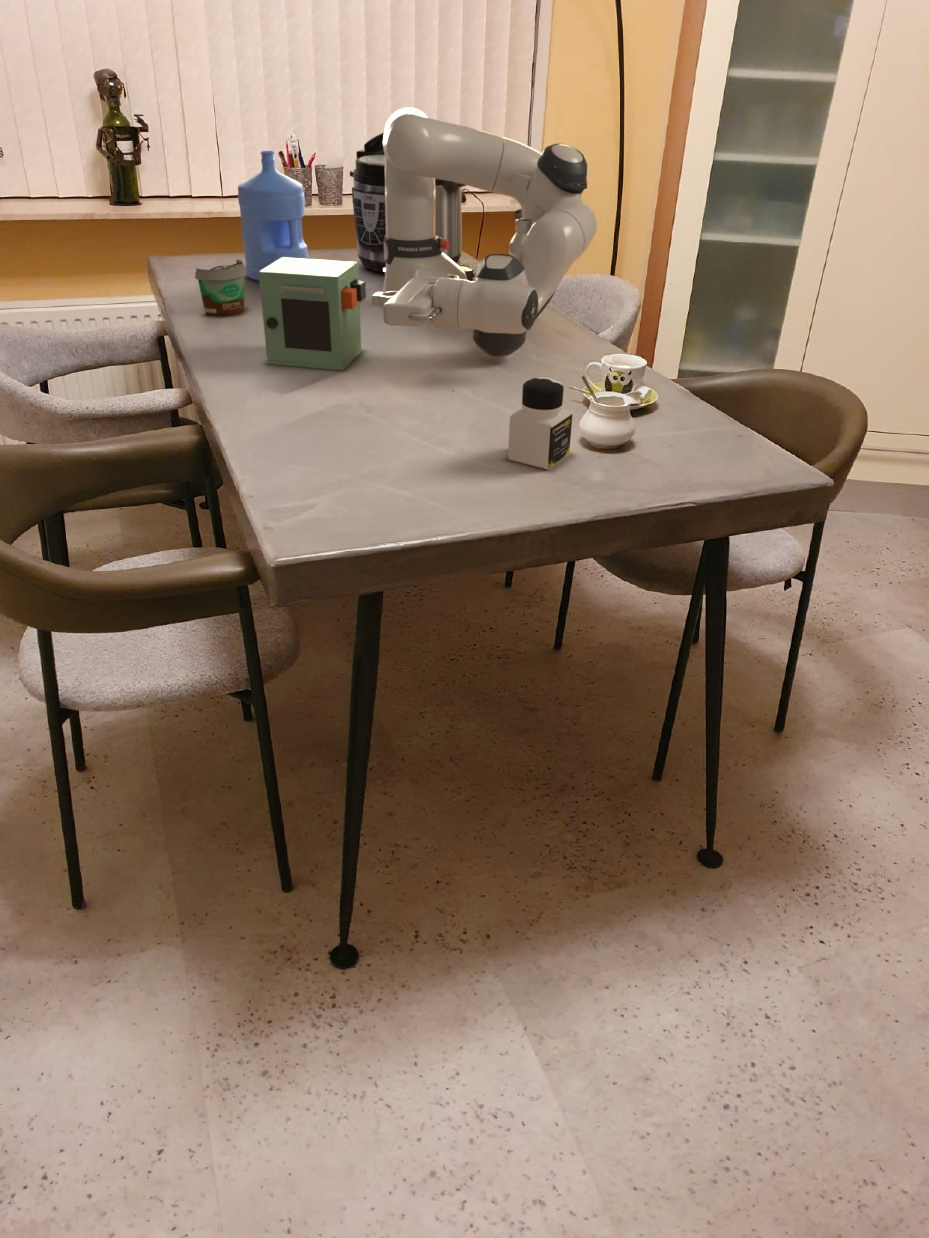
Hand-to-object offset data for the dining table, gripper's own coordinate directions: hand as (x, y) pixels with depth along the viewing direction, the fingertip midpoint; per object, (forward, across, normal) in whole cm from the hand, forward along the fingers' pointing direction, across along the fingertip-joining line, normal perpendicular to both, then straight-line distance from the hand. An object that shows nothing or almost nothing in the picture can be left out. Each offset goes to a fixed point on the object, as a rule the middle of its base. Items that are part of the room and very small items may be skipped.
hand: (373, 298), depth 176 cm
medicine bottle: (-37, -36, -13) cm, 53 cm away
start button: (+5, -1, -1) cm, 5 cm away
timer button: (+5, +4, -1) cm, 7 cm away
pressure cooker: (+15, +79, -13) cm, 81 cm away
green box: (+13, +2, -12) cm, 18 cm away
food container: (+41, +26, -13) cm, 50 cm away
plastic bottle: (-22, +39, -12) cm, 47 cm away
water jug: (+43, +60, -13) cm, 75 cm away
